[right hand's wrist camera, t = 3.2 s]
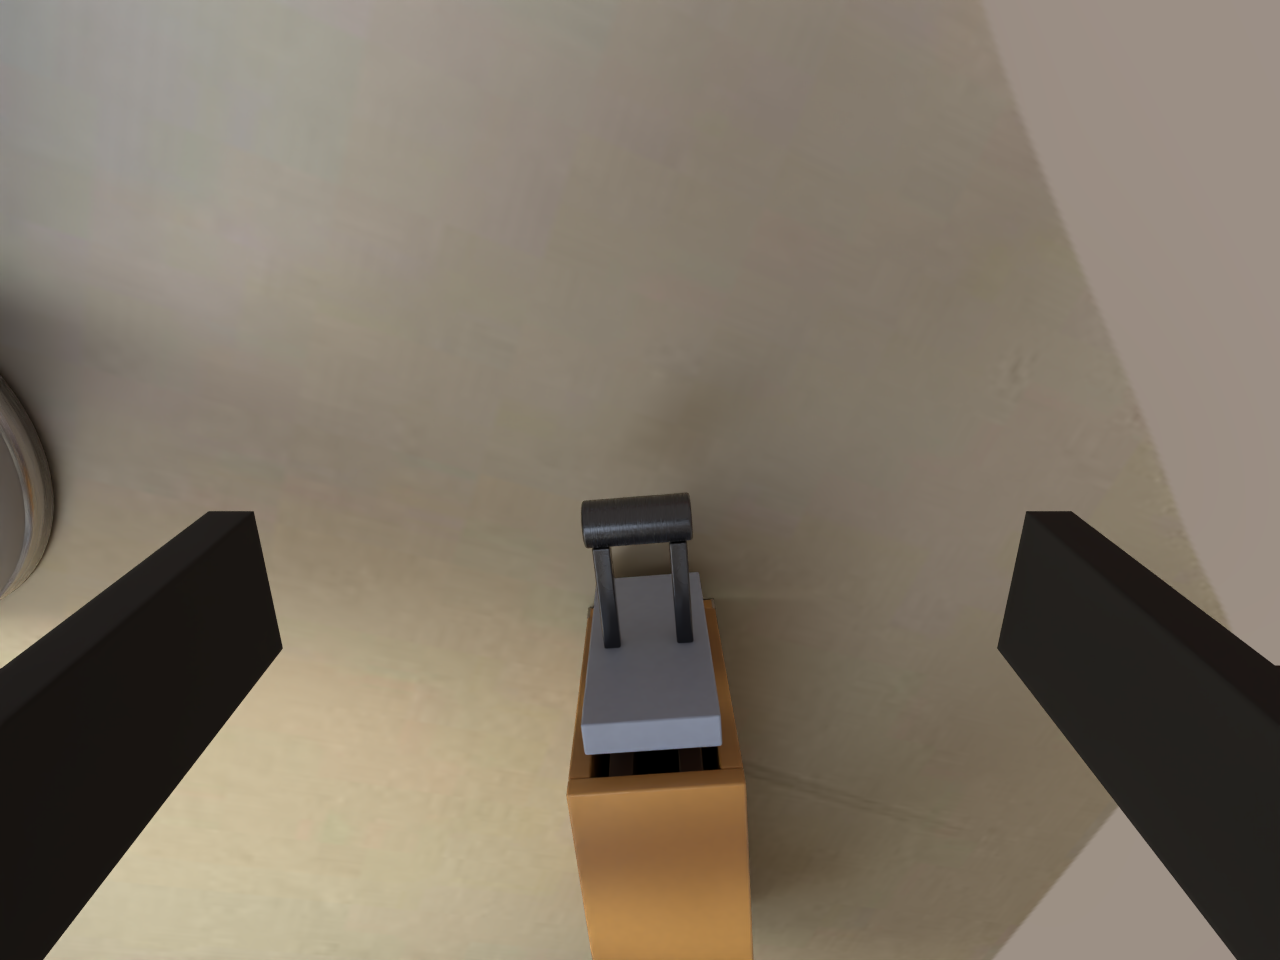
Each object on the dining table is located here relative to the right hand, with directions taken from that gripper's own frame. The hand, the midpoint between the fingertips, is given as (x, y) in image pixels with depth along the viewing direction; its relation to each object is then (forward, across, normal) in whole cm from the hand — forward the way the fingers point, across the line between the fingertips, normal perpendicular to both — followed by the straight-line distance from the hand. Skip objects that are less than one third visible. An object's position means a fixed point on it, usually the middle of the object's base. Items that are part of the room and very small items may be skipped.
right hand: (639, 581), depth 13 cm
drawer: (+16, -1, +15) cm, 22 cm away
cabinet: (+17, -1, +20) cm, 27 cm away
